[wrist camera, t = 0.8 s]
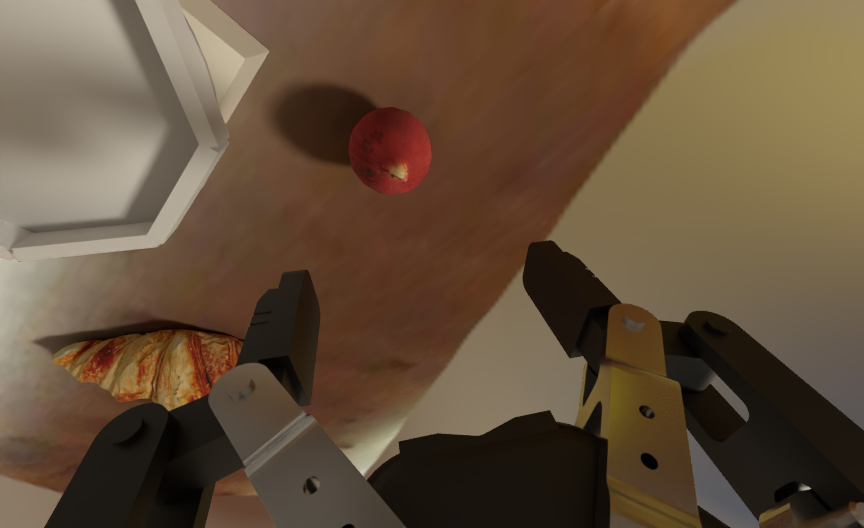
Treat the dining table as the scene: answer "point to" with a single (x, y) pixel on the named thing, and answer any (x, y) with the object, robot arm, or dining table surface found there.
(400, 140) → the onion
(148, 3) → the scale
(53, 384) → the dining table surface
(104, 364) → the croissant
